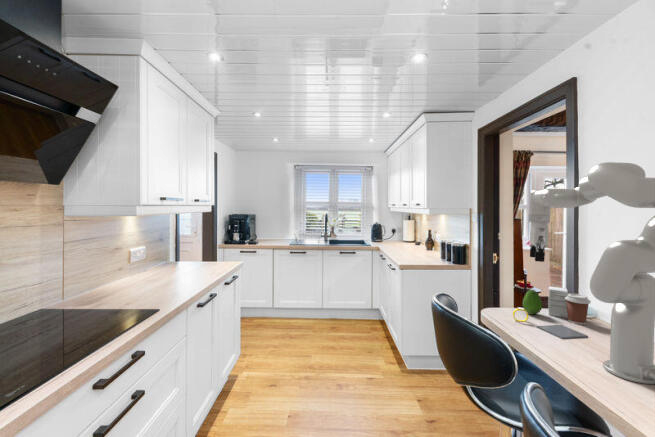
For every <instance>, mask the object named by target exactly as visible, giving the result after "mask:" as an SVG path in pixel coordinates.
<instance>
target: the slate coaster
mask: <svg viewBox="0 0 655 437" xmlns="http://www.w3.org/2000/svg"><path fill="white" fill-rule="evenodd" d="M536 328H537V329H539V330H541V331H544V332H546V333H548V334H550V335H553V336H554V337H557V338H559V339H561V340H563V339H579V338H580V339H582V338H584V339H585V338H588V337H589V335H587V334H585V333H582V332H580V331H577V330H575V329H572V328H570V327H568V326H565V325H563V324H552V325H549V324H548V325H536Z"/></svg>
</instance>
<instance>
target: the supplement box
mask: <svg viewBox="0 0 655 437" xmlns="http://www.w3.org/2000/svg"><path fill="white" fill-rule="evenodd" d="M568 294H569V292H568V288H565V287H558V286H557V287H556V286H548V316H554V317H560V318H566V319H568V313H567V300H565V297H567V296H568Z"/></svg>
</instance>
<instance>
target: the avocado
mask: <svg viewBox="0 0 655 437" xmlns="http://www.w3.org/2000/svg"><path fill="white" fill-rule="evenodd" d="M522 308H524V309H525V310H526V311H527V313H528V315H536V314H539V313H541V311H542V309H543V301H542V298H541V297H540V295H539V293H538V292H537V291H536V290H535V289H529V290H527V292H526V293H525V294H524V297H523V299H522ZM527 313H526V314H527Z"/></svg>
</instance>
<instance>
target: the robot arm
mask: <svg viewBox="0 0 655 437" xmlns="http://www.w3.org/2000/svg"><path fill="white" fill-rule="evenodd" d="M604 197H609V198H611V199H612V200H615V201H616V202H618V203H619V204H622V205H624V206H627V207H631V208H638V209H655V177H646V172H645V170H644V169H643V167H641V166H640V165H639V164H636V163H631V162H616V161H615V162H613V161H612V162H610V161H608V162H607V161H606V162H602V163H598V164H596V165H594V166H593V167H592V168H591V169H590V170H589V171H588V173H587V175H585V176H583V177H582V178H581V179H580V180H579V181H578V187H577V186H576V187H574V188H546V189H545V188H544V189H532V190H531V191H530V193H529V205H528V206H529V208H528V219H527V220H528V223H530V232H529V243H530V246H529V247H530V248H529V257H530V258H534V261H535V262H541V263H543V262H545V256H546V252H545V251H546V248H547V247H549V224H550V223H551V214H552V213H551V210H552V208H553V209H557V208H558V209H559V208H560V209H561V208H562V209H569V208H570V209H571V208H572V209H573V208H577V207H582V206H586V205H588V204H592V203H594V202H595V201H596V200H597V199H600V198H604ZM651 273H652V274H653V273H655V215H654V216H652V217H651V218H649V220H648V221H647V222H646V224H645V226H644V227H643V229H642V231H641V233H640V234H639V235H638V237H637V238H635V239H625V240H624V239H623V240H619V241H614V242H613V243H611V244H610V245H609V246H607V247H606V248H605V250H604V251H603V252H602V255H601V257H600V259H599V261H598V263H597V265H596V267H595V269H594V271H593V273H592V275H591V277H590V281H589V289H590V292H591V295H592V296H593V297H594V298H595V299H596V300H597V301H600V302H603V303H606V304H613V306H612V310H611V315H610V316H611V318H610V341H609V342H610V344H609V359H608V360H605V361H603V363H602V365H603V366H602V367H603V369H605V370H606V371H607V372H608V373H610V374H612V375H614V376H617V377H618V378H621V379H625V380H627V381H631V382H636V383H639V384H648V385H655V364H654V358H655V357H654V355H655V353H654V352H655V277H654V276H652V275H651Z"/></svg>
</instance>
